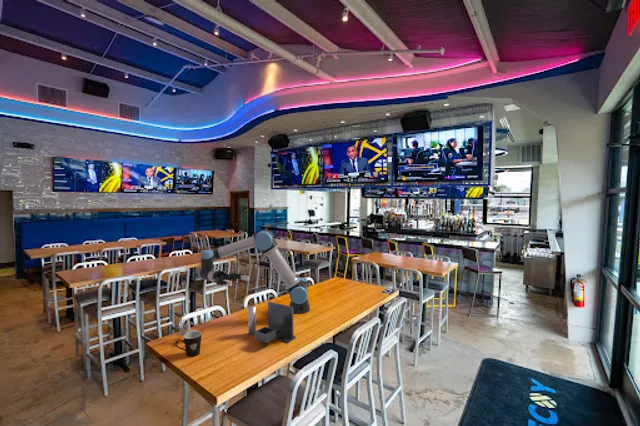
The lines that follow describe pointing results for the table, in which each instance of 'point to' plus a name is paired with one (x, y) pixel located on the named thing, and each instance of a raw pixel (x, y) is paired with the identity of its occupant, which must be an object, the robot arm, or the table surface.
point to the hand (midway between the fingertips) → (240, 281)
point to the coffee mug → (192, 343)
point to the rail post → (252, 320)
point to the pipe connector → (186, 330)
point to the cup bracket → (277, 324)
